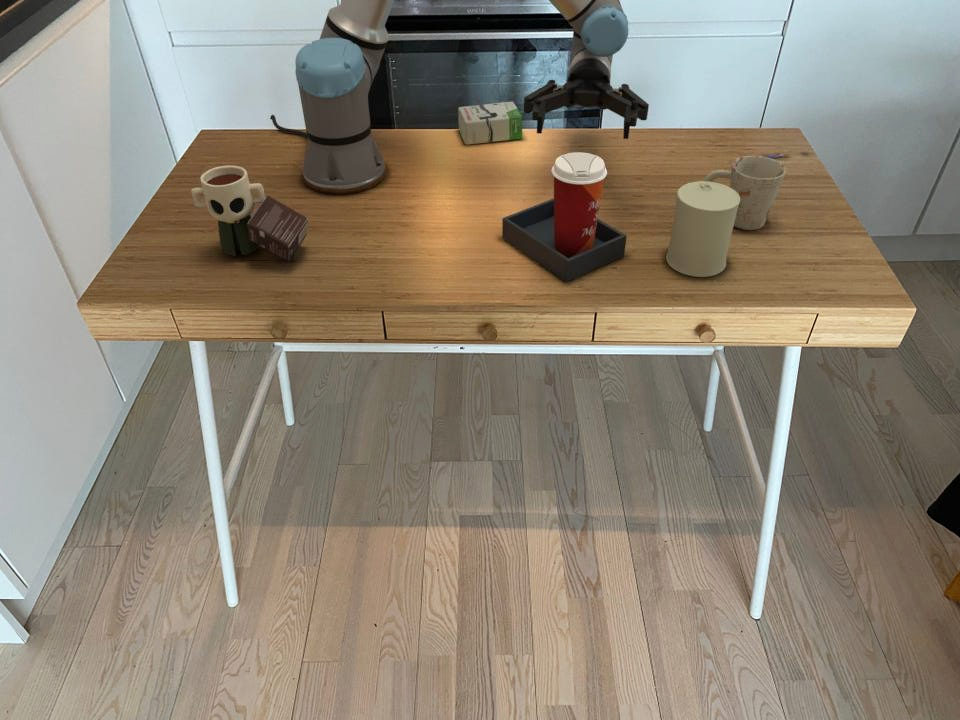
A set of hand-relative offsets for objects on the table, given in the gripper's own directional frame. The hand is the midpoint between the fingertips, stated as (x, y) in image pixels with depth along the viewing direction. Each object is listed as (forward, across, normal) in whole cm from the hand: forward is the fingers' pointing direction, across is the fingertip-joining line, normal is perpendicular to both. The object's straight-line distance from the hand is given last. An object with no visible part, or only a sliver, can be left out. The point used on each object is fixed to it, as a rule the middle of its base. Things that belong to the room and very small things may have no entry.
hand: (582, 128), depth 121 cm
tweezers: (-30, -37, -16) cm, 50 cm away
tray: (+8, +2, -17) cm, 19 cm away
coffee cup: (+10, 0, -16) cm, 19 cm away
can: (+9, -20, -17) cm, 28 cm away
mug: (-5, -27, -17) cm, 32 cm away
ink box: (-36, +14, -14) cm, 41 cm away
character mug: (+16, +53, -18) cm, 58 cm away
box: (+17, +42, -14) cm, 48 cm away
